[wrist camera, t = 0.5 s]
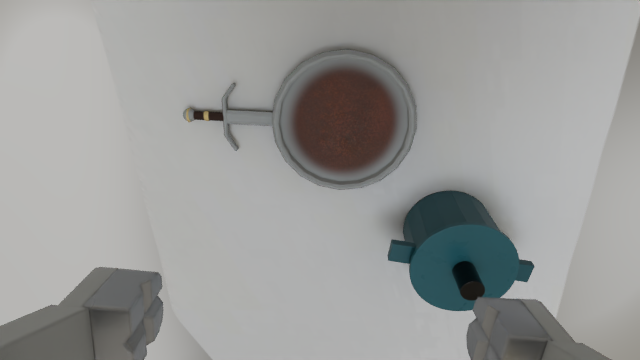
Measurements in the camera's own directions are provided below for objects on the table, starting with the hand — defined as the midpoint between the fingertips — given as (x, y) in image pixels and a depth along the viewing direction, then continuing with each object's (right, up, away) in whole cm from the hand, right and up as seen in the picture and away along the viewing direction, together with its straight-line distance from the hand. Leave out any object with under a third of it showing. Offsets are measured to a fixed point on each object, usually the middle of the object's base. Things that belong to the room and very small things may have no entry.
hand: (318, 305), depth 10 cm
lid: (+17, -7, +36) cm, 40 cm away
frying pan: (-2, +11, +39) cm, 40 cm away
